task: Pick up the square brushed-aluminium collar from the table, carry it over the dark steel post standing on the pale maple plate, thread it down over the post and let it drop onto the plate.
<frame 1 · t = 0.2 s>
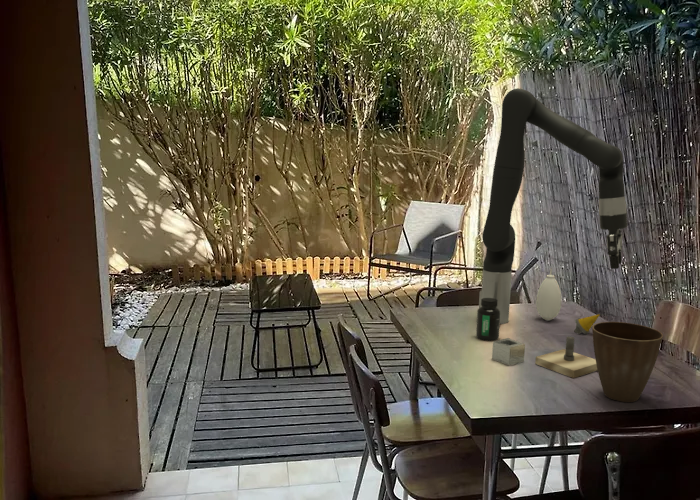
hand: (616, 266, 184), 22 cm above the table, fingers open, 8 cm apart
post block: (568, 366, 162), on the table
sauce bottle: (547, 320, 206), on the table
collar: (507, 360, 166), on the table
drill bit: (585, 333, 192), on the table
supplement bottle: (487, 338, 186), on the table
plant pot: (620, 396, 143), on the table
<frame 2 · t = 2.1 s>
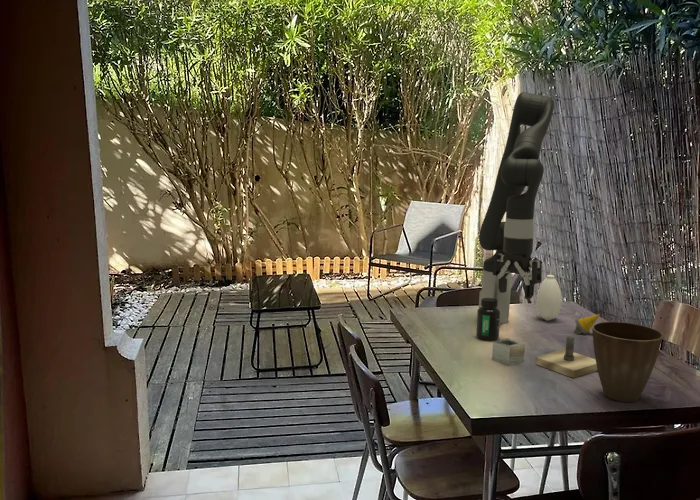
hand: (515, 295, 163), 18 cm above the table, fingers open, 8 cm apart
nothing on the table moved.
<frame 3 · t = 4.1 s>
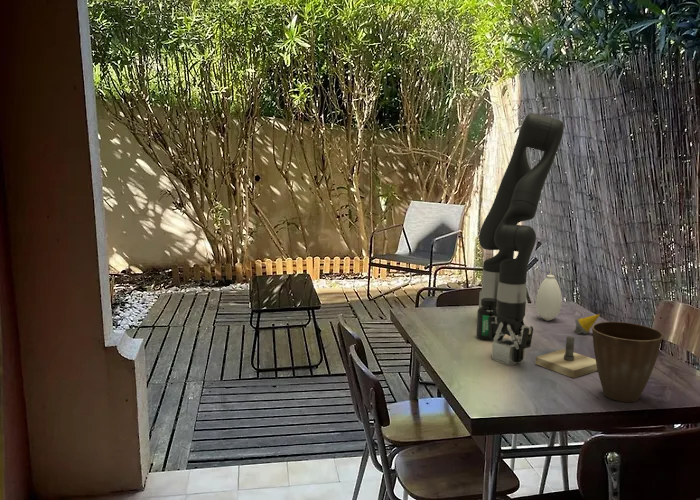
hand: (508, 357, 166), 1 cm above the table, fingers closed on collar, 6 cm apart
collar: (507, 360, 166), on the table, touching gripper
everything else where it was.
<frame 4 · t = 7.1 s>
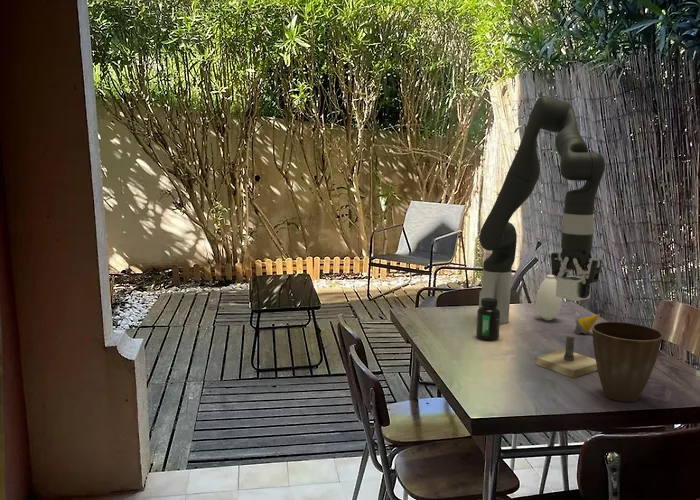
hand: (573, 294, 159), 20 cm above the table, fingers closed on collar, 6 cm apart
collar: (572, 297, 159), point 19 cm above the table, touching gripper
everything else where it was.
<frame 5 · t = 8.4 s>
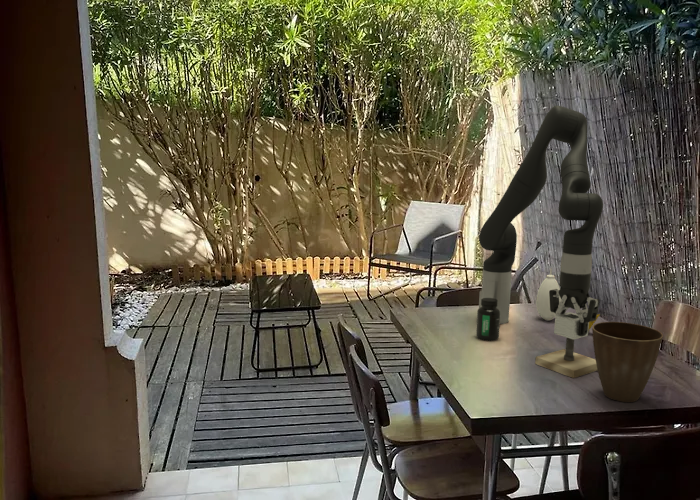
hand: (571, 332, 161), 9 cm above the table, fingers closed on collar, 6 cm apart
collar: (570, 334, 161), point 9 cm above the table, touching gripper
everything else where it was.
when the fingers open (6 cm above the table, at t = 9.7 s): collar drops 3 cm, resting on post block.
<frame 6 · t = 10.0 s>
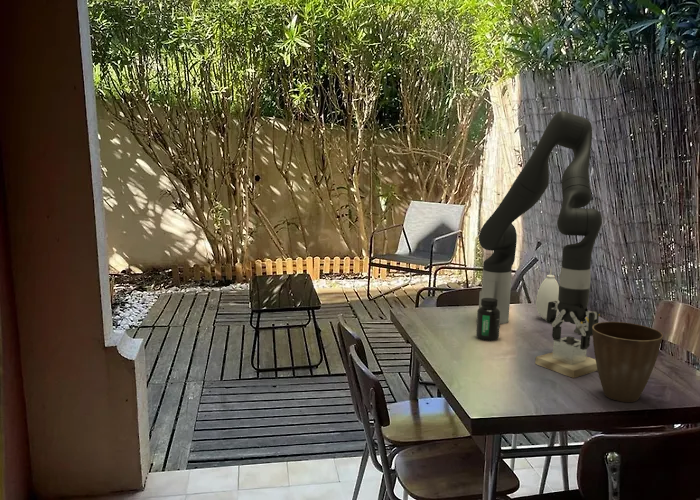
hand: (569, 344, 161), 6 cm above the table, fingers open, 8 cm apart
collar: (569, 359, 162), point 2 cm above the table, touching post block
everything else where it was.
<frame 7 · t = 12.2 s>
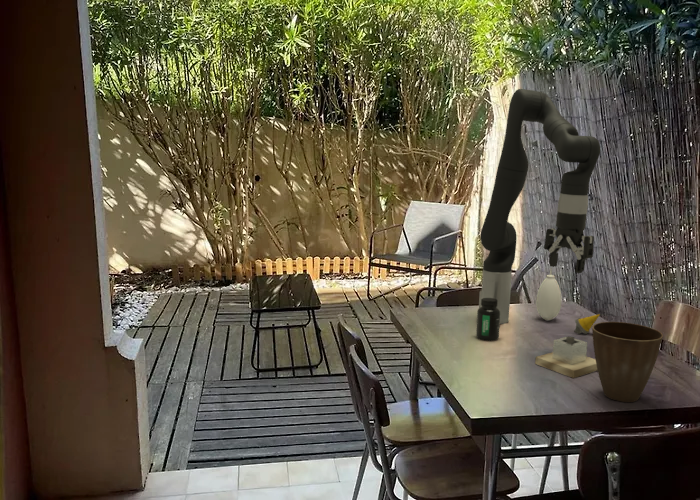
hand: (565, 269, 167), 24 cm above the table, fingers open, 8 cm apart
nothing on the table moved.
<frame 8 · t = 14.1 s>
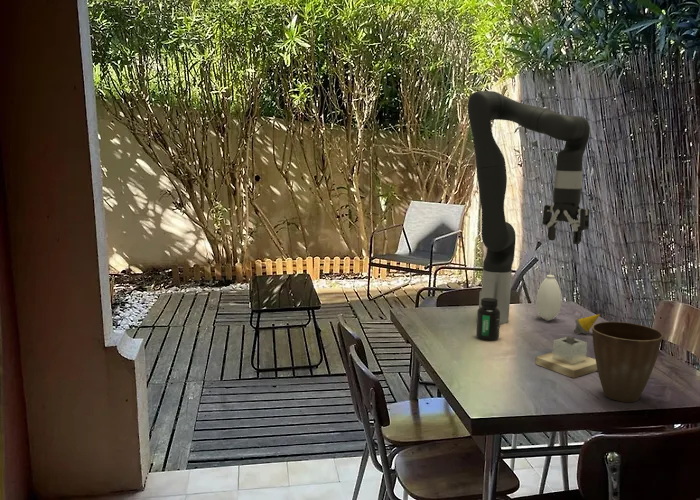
hand: (563, 241, 179), 30 cm above the table, fingers open, 8 cm apart
nothing on the table moved.
at the end: collar 0.1 cm off-centre on the post block, point 2.0 cm above the post block's base; the gripper is holding nothing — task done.
